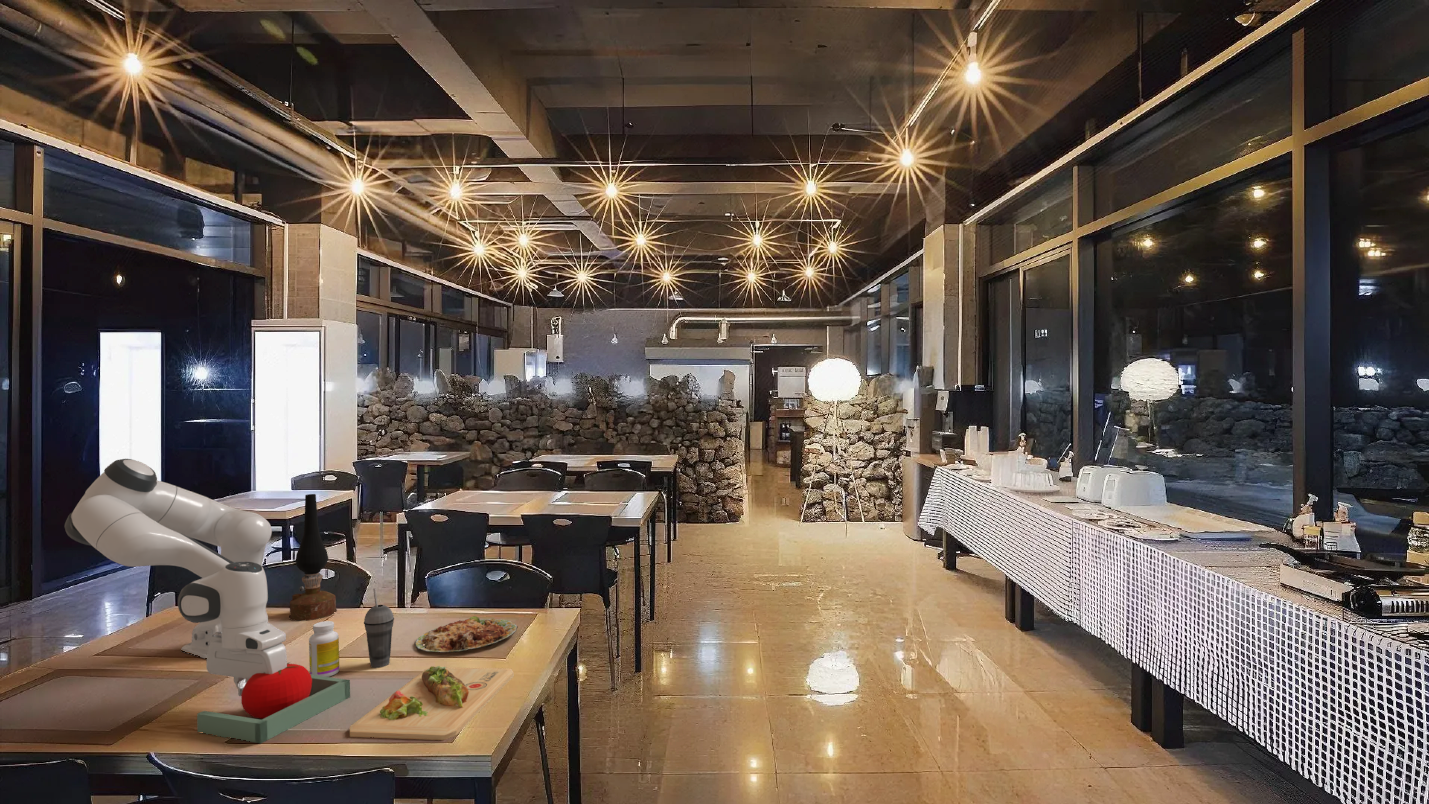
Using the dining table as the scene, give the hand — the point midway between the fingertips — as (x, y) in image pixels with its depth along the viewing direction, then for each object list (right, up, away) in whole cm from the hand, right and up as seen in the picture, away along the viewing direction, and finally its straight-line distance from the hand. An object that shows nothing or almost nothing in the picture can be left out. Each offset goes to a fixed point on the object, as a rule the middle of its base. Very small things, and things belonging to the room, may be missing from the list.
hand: (246, 695), depth 160 cm
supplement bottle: (+7, -3, +20) cm, 21 cm away
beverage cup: (+18, -3, +26) cm, 32 cm away
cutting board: (+43, -3, +2) cm, 43 cm away
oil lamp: (-25, -3, +71) cm, 76 cm away
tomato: (+9, -3, -2) cm, 9 cm away
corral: (+8, -3, -2) cm, 9 cm away
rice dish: (+34, -3, +45) cm, 57 cm away
